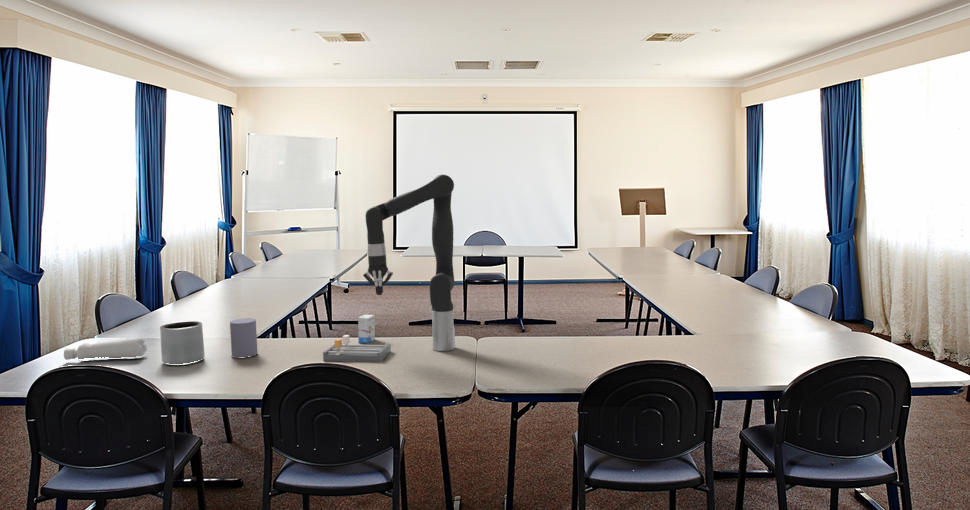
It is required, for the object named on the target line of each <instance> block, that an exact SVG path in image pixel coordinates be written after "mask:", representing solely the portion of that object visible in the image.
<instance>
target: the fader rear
mask: <svg viewBox="0 0 970 510" xmlns="http://www.w3.org/2000/svg"><path fill="white" fill-rule="evenodd" d="M350 342H351V341H350V334H344V335H342V345H345V347H348V345H349V344H350Z"/></svg>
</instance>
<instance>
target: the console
mask: <svg viewBox="0 0 970 510" xmlns="http://www.w3.org/2000/svg"><path fill="white" fill-rule="evenodd" d="M391 352H392V351H391V343H387V344H348V347H345V344H342V347H340V351H337V348H335V343H334V344H333V345H331V346H330V347H328V348H326V350H325V351H323V352H322V359H323V361H325V362H326V361H328V362H373V363H374V362H375V363H376V362H382V361H383V360H384V359H385V358H386V357H387V356H388V355H389V354H390V353H391Z"/></svg>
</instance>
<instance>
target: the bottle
mask: <svg viewBox="0 0 970 510" xmlns="http://www.w3.org/2000/svg"><path fill="white" fill-rule="evenodd" d="M147 349H148V346H147V343H146V340H145V338H142V337H140V336H139V337H128V338H124V339H116V340H108V341H101V342H100V341H99V342H95V343H87V342H84V343H82V344H80V345H78V347H77V348H65V349H64V350H63V358H64V360H66V361H69V360H76V359H78V360H79V359H84V358H95V357H98V358H99V357H101V358H102V357H104V358H105V357H109V358H121V357H136V356H142V355H144V354H145V355H146V352H147V351H148V350H147ZM75 358H76V359H75Z"/></svg>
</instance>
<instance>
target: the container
mask: <svg viewBox="0 0 970 510" xmlns="http://www.w3.org/2000/svg"><path fill="white" fill-rule="evenodd" d="M229 330H230V332H229V333H230V346H231V357H232V356H234V357H248V356H253V355H255V356H257V355H258V354H257V353H259V352H258V351H259V350H258V337H257V318H256V319H255V318H239V319H232V320H230V321H229ZM256 354H257V355H256ZM253 357H254V356H253Z"/></svg>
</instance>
